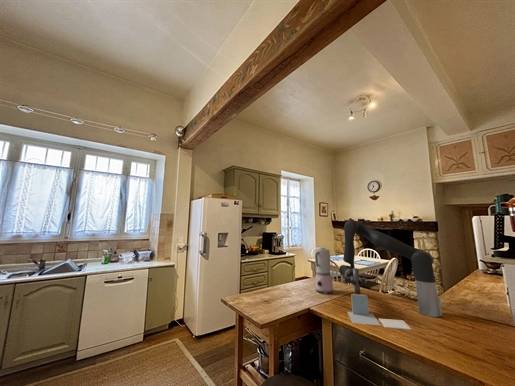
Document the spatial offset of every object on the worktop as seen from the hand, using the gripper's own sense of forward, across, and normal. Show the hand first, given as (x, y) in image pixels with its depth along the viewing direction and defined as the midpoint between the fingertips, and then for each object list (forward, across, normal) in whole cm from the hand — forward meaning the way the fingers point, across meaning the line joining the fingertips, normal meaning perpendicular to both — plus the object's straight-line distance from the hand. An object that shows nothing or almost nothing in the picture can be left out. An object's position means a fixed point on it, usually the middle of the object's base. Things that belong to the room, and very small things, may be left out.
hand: (357, 283), depth 116 cm
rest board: (+9, +13, +16) cm, 23 cm away
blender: (-37, -17, +17) cm, 44 cm away
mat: (+5, 0, +16) cm, 17 cm away
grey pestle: (-3, 0, +10) cm, 11 cm away
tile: (0, 0, +16) cm, 16 cm away
